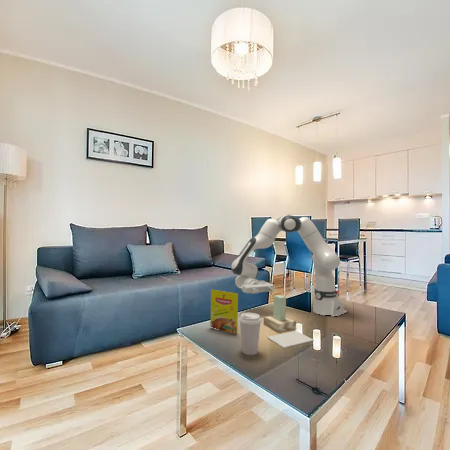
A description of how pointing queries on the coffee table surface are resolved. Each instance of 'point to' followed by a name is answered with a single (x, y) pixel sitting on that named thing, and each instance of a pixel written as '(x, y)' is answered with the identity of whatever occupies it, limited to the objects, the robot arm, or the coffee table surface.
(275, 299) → the sage green pillar
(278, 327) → the plate
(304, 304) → the coffee table surface
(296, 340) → the rubber mat
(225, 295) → the food package
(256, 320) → the coffee cup
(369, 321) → the coffee table surface
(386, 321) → the coffee table surface
